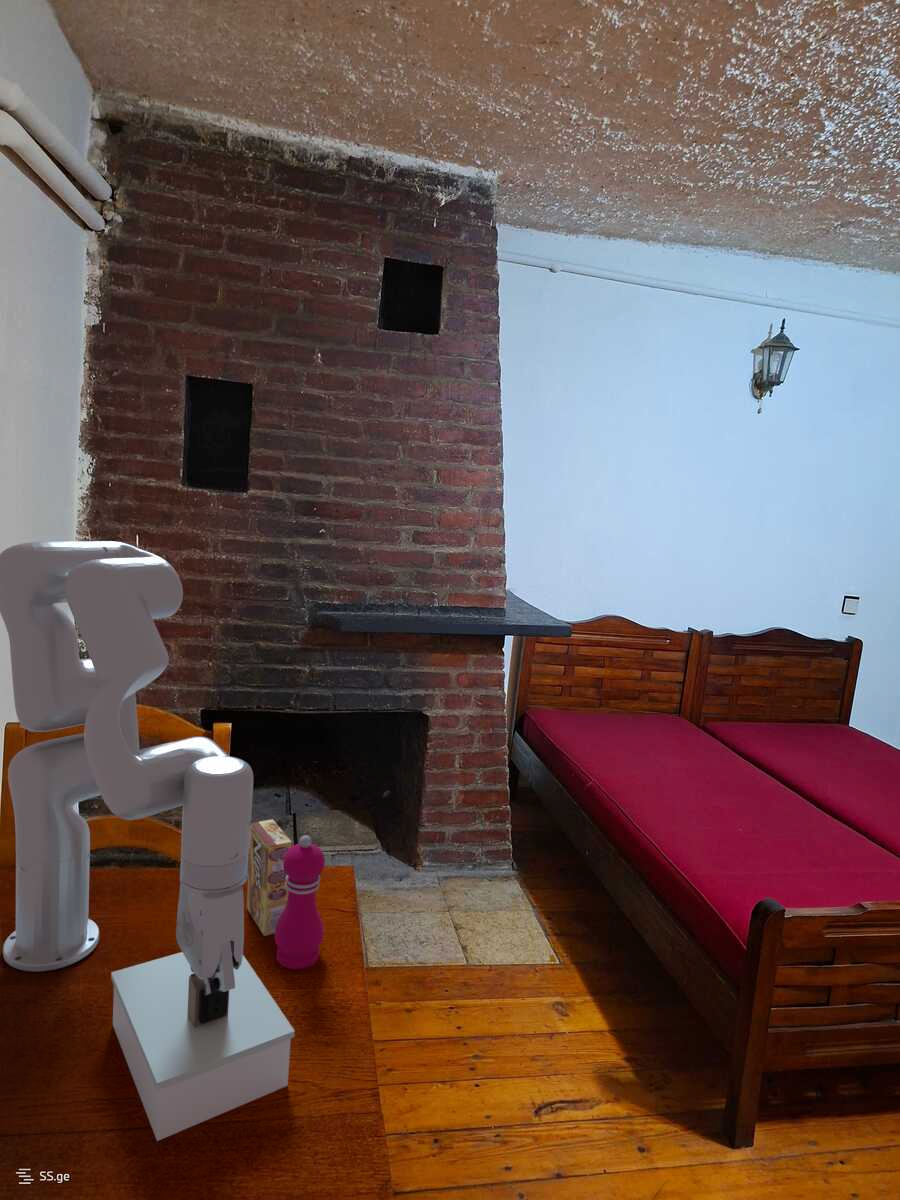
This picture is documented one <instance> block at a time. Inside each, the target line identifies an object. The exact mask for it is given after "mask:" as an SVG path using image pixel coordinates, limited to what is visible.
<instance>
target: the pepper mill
mask: <svg viewBox="0 0 900 1200" xmlns="http://www.w3.org/2000/svg"><path fill="white" fill-rule="evenodd" d="M312 841H313V840H312V838H311V837H310V835H303V836H301V837H300V838H299V843H296V844H294V845H292V847H291V848H290V849H289V850H288V851H287V852H286V854H285V857H284V861H283V868H284V871H285V873H286V874H287V876H286V883H285V886H286V888H287V890H288V900H287V904H286V906H285V908H284V910H283V912H282V914H281V916H280V918H279V920H278V923H277V925H276V929H275V933H274V934H273V935H274V937H273V938H274V942H275V944H276V945H277V949H276V957H275V958H276V960H277V962H278V964H280V965H281V966H283V967H284V968H287V969H292V970H300V969H306V968H309V967H312V966H313V965H314V964H316V962H318V960H319V956H320V947H319V946H320V945H321V944H322V942H323V939H324V924H323V920H322V918H321V915H320V913H319V911H318V909H317V904H316V895H317V894H316V893H317V890H318V889H319V888H320V885H321V882H320V881H321V876H320V875H321V874H322V873H323V870H324V869H325V863H326V862H325V855H324V853H323V851H322V849H321V848H320V847H319V846H317V845H316V844H315V843H312Z"/></svg>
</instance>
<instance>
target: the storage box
mask: <svg viewBox="0 0 900 1200" xmlns="http://www.w3.org/2000/svg"><path fill="white" fill-rule="evenodd" d="M112 1002H113V1003H112V1005H113V1007H112V1008H113V1009H112V1012H113V1013H112V1014H113V1015H112V1027H113V1029H114V1032H115V1035H116V1037H117V1041H118V1043H119V1045H120V1048H121V1051H122V1053H123V1055H124V1058H125V1061H126V1063H127V1067H128V1068H129V1071H130V1074H131V1077H132V1079H133V1083H134V1084H135V1088H136V1089H137V1093H138V1095H139V1098H140V1101H141V1102H142V1105H143V1108H144V1111H145V1114H146V1116H147V1119H148V1121H149V1124H150V1127H151V1129H152V1132H153V1134H154V1137H155V1139H156V1142H158V1141H160V1140H163V1139H166V1138H167V1137H171V1136H172V1135H176V1134H178V1133H180V1132H181V1131H185V1130H187V1129H189V1128H192V1127H193V1126H196V1125H199V1124H201V1123H203V1122H205V1121H208V1120H211V1119H213V1118H214V1117H217V1116H219V1115H221V1114H224V1113H227V1112H229V1111H231V1110H234V1109H236V1108H239V1107H241V1106H243V1105H246V1104H248V1103H250V1102H253V1101H255V1100H258V1099H259V1098H262V1097H264V1096H267V1095H269V1094H272V1093H274V1092H276V1091H278V1090H282V1089H284V1088H286V1087H288V1083H289V1073H290V1072H289V1071H290V1068H289V1067H290V1056H291V1041H292V1040H291V1039H292V1038H290V1039H288V1040H285V1041H283V1042H280V1043H278V1044H275V1045H272V1046H270V1047H267V1048H265V1049H262V1050H259V1051H257V1052H254V1053H252V1054H249V1055H246V1056H244V1057H241V1058H239V1059H236V1060H233V1061H231V1062H228V1063H226V1064H223V1065H220V1066H218V1067H215V1068H213V1069H210V1070H208V1071H205V1072H202V1073H200V1074H197V1075H195V1076H192V1077H189V1078H187V1079H184V1080H182V1081H179V1082H176V1083H174V1084H171V1085H169V1086H166V1087H163V1088H161V1089H158V1090H157V1089H156V1087H155V1084H154V1082H153V1079H152V1077H151V1074H150V1072H149V1070H148V1067H147V1065H146V1062H145V1060H144V1057H143V1055H142V1052H141V1050H140V1048H139V1045H138V1043H137V1040H136V1038H135V1035H134V1033H133V1031H132V1028H131V1026H130V1023H129V1021H128V1018H127V1016H126V1013H125V1011H124V1009H123V1006H122V1004H121V1001H120V999H119V996H118V994H117V992H116V989H115V987H114V986H113V1001H112Z"/></svg>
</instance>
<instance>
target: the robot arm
mask: <svg viewBox="0 0 900 1200" xmlns="http://www.w3.org/2000/svg"><path fill="white" fill-rule="evenodd" d="M183 597H184V590H183V585H182V582H181V579H180V576H179V574H178V573H177V571H176V570H175V568H174V567H173V566H172V564H170V563H169V562H168V561H167V560H165V559H164V558H163V557H160V556H158V555H156V554H155V553H151V552H149V551H147V550H143V549H141V548H139V547H136V546H134V545H131V544H128V543H124V542H122V541H121V542H120V541H115V540H113V541H112V540H89V541H87V540H82V541H78V540H77V541H76V540H72V541H71V540H56V541H55V540H46V541H44V540H43V541H29V542H23V543H18V544H15V545H12V546H10V547H7V548H6V549H4V550H3V551H1V552H0V616H1V619H2V620H3V623H4V625H5V628H6V631H7V634H8V635H7V636H8V640H9V649H10V650H9V651H10V652H9V653H10V663H11V664H10V665H11V677H12V679H11V680H12V688H13V691H12V692H13V699H14V708H15V713H16V716H17V720H18V722H19V724H20V725H21V727H22V728H24V729H25V730H27V731H30V732H34V733H38V732H39V733H42V732H51V731H53V732H54V731H58V730H65V729H68V728H69V729H70V728H74V727H78V726H82V725H83V726H84V731H83V733H77V734H72V735H67V736H61V737H57V738H53V739H52V738H51V739H49V740H44V741H40V742H36V743H34V744H31V745H28V746H27V747H25V748H23V749H21V750H20V751H18V752H17V753H16V754H15V755H14V756H13V758H12V759H11V761H10V762H9V765H8V769H7V780H8V788H9V791H10V796H11V800H12V801H11V802H12V806H13V814H14V825H15V930H14V931H13V932H11V933H10V935H9V936H8V937H7V938H6V940H5V941H4V943H3V946H2V956H3V959H4V961H5V962H6V964H8V965H9V966H10V967H12V968H14V969H17V970H20V971H24V972H47V971H53V970H57V969H61V968H62V969H63V968H65V967H68V966H70V965H73V964H75V963H76V962H79V961H80V960H83V959H84V958H85V957H87V956H89V955H90V953H91V952H93V951H94V950H95V948H97V945H98V944H99V940H100V929H99V925H97V924H96V922H94V920H92V919H90V918H89V911H90V910H89V906H90V905H89V902H90V896H89V895H90V862H91V861H90V859H91V858H90V854H91V853H90V850H91V832H90V828H89V825H88V822H87V821H86V820H85V819H84V817H83V816H82V815H80V813H78V812H77V811H75V809H74V806H75V805H76V804H77V803H80V802H84V801H85V800H89V799H92V798H96V797H99V796H101V797H102V800H103V802H104V804H105V805H106V807H108V809H109V811H111V813H112V814H114V815H115V816H116V817H118V818H120V819H121V820H122V819H123V820H127V821H128V820H129V821H134V820H140V819H143V818H147V817H150V816H153V815H157V814H160V813H163V812H165V811H168V810H172V809H174V808H178V807H182V817H181V818H182V820H181V842H180V843H181V846H180V868H179V869H180V870H179V871H180V872H179V883H180V885H179V886H180V887H179V894H178V904H177V915H176V916H177V917H176V927H175V938H176V942H177V944H178V947H179V948H180V950H181V952H183V954H184V956H185V957H186V959H187V961H188V963H189V964H190V968H191V972H192V973H193V972H194V974H191V976H192V975H196V976H197V977H198V978H200V979H202V980H203V990H201V991H200V997H199V1022H200V1023H201V1024H204V1023H207V1022H209V1021H212V1020H215V1019H218V1018H221V1017H224V1016H225V1015H226V1014H227V1005H228V990H231V989H234V988H235V979H234V969H233V967H234V968H235V969H236V970H237V969H239V967H240V966H241V963H242V957H243V955H244V943H245V942H244V941H245V910H244V909H245V905H244V887H243V885H244V884H245V883H246V882H248V868H249V849H250V832H251V823H252V810H253V808H252V807H253V794H254V792H253V791H254V773H253V770H252V769H253V768H252V767H251V765H250V764H249V763H248V762H246V761H245V760H243V759H241V758H238V757H234V756H230V755H229V754H228V753H227V752H226V751H225V750H224V749H223V748H221V746H220V745H219V744H217V742H215V741H214V740H212V738H208V737H205V736H192V737H187V738H185V739H184V738H183V739H180V740H175V741H171V742H166V743H162V744H158V745H157V744H156V745H154V746H150V747H146V748H141V749H140V740H139V739H140V738H139V722H138V721H139V720H138V709H137V708H138V707H137V697H136V692H138V691H139V690H141V689H143V688H144V687H146V686H147V685H149V684H150V683H152V682H153V681H154V680H155V679H157V678H159V676H160V675H162V674H163V672H165V670H166V669H167V667H168V665H169V661H170V658H169V653H168V650H167V648H166V646H165V644H164V642H163V639H162V637H161V635H160V632H159V630H158V628H157V626H156V624H155V622H154V620H158V619H166V618H169V617H171V616H173V615H175V614H176V613H177V611H179V609H180V607H181V605H182V602H183V599H184V598H183ZM61 603H62V604H63V603H67V605H68V607H69V609H70V610H69V611H70V612H71V615H72V617H73V620H74V621H75V624H76V626H77V627H75V625H74V623H73V622H72V620H71V619H70V618H69V616H68V615H67V614H66V613H65V612H64V611H63V609H61V608H60V607H59V606H58V605H57V604H61ZM76 628H77V629H76ZM77 630H78V632H79V634H80V637H81V639H82V642H83V644H84V647H85V649H86V651H87V654H88V657H89V658H83V659H82V658H80V654H79V640H78V633H77ZM218 972H220V977H217V978H214V979H213V980H211V977H212V976H213V975H214V974H215V973H218Z"/></svg>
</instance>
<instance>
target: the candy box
mask: <svg viewBox="0 0 900 1200" xmlns="http://www.w3.org/2000/svg"><path fill="white" fill-rule="evenodd" d="M292 846H293V842H292V840H291V839H290V838H289V836H287V834H286V833H285V832H284V830H283V829H282V828H280V826H279V825H278V823H277V822H276V821H275V820H274V819H267V820H262V821H257V822H256V821H255V822H251V832H250V849H249V868H248V879H247V897H246V909H247V910H248V912H249V915H250V916H251V917H252V919H253V921H254V922H255V924H256V925H257V927H258V929H259V930H260V932H261V933H262V935H263V936H264V937H266V936H270V935H275V929H276V925H277V923H278V920H279V918H280V916H281V914H282V912H283V910H284V908H285V906H286V904H287V900H288V890H287V888H286V886H285V883H286V876H287V874H286V873H285V871H284V868H283V861H284V857H285V854H286V852H287V851H288V850H289V849H290V848H291V847H292Z"/></svg>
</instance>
